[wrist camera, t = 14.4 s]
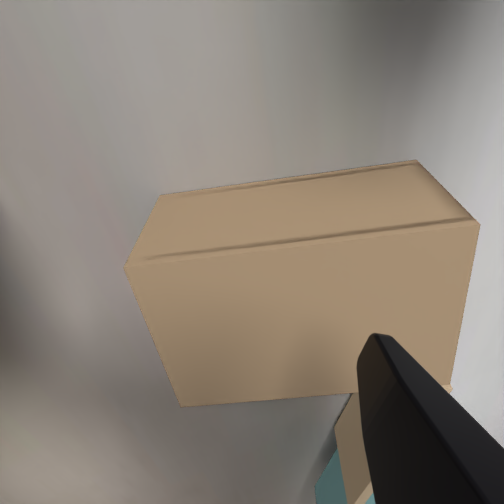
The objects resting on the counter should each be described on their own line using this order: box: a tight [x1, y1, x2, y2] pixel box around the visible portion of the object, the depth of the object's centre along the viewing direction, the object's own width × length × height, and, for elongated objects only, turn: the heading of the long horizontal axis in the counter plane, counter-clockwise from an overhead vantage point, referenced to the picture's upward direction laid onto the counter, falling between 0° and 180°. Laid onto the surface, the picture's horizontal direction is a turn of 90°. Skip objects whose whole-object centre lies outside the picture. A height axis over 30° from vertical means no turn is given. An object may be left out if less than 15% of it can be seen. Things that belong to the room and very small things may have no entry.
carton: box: [124, 160, 480, 407], centre depth 18 cm, size 12×8×6 cm, turn 99°
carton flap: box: [315, 385, 453, 504], centre depth 24 cm, size 18×3×6 cm, turn 168°
